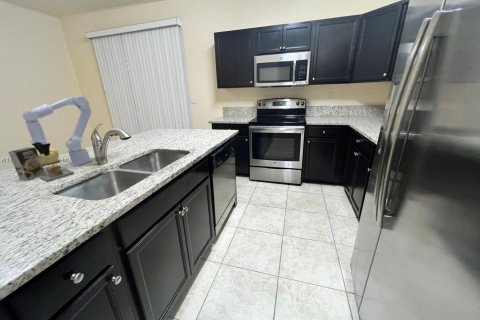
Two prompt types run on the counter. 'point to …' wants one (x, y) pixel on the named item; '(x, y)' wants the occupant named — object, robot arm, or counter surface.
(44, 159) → the tan lumpy round piece
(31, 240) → the counter surface
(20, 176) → the coffee box
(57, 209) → the counter surface
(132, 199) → the counter surface
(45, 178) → the slate gray tray
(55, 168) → the letter cube
